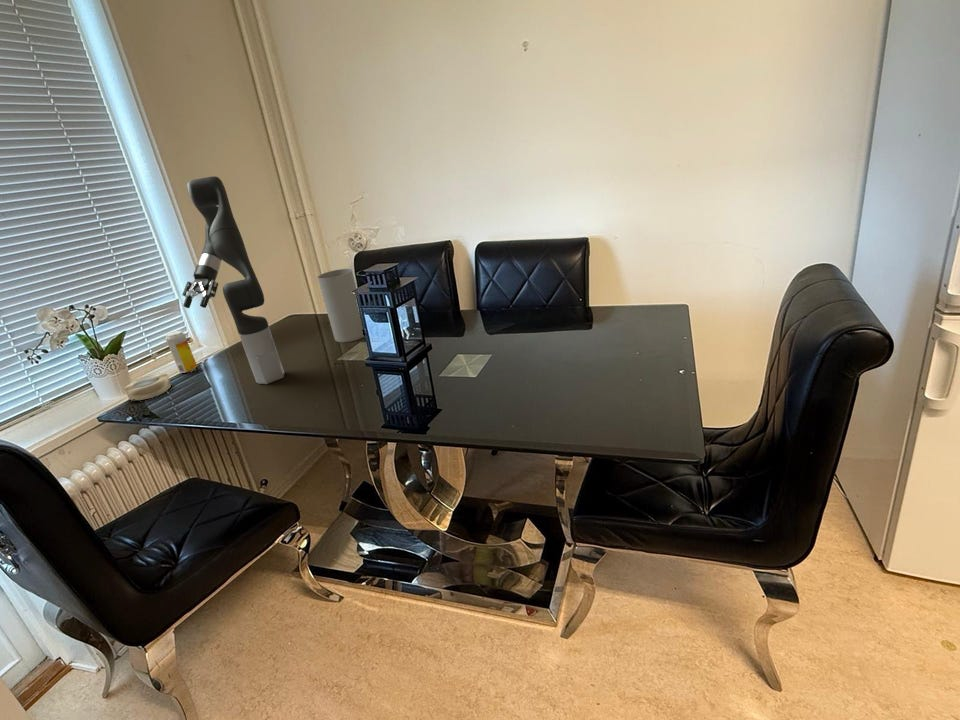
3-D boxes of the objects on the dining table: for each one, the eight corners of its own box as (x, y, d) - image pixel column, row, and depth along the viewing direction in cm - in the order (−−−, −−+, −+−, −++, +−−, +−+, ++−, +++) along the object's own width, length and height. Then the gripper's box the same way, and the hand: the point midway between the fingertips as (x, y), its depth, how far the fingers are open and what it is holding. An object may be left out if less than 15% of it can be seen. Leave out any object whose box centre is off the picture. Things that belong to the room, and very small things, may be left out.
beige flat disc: (175, 390, 176) (170, 379, 174) (132, 405, 169) (126, 394, 167) (168, 380, 185) (163, 369, 184) (127, 394, 179) (122, 384, 177)
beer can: (201, 366, 194) (186, 329, 188) (191, 373, 188) (176, 335, 182) (186, 368, 195) (171, 331, 189) (176, 375, 189) (160, 337, 183)
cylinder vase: (354, 329, 207) (338, 268, 197) (374, 332, 199) (358, 269, 189) (328, 341, 198) (310, 277, 189) (348, 345, 191) (330, 279, 181)
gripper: (186, 264, 197) (172, 303, 192) (213, 262, 192) (199, 302, 187) (202, 274, 204) (189, 311, 199) (229, 272, 199) (216, 311, 194)
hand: (194, 307), depth 193 cm, fingers open, 8 cm apart
